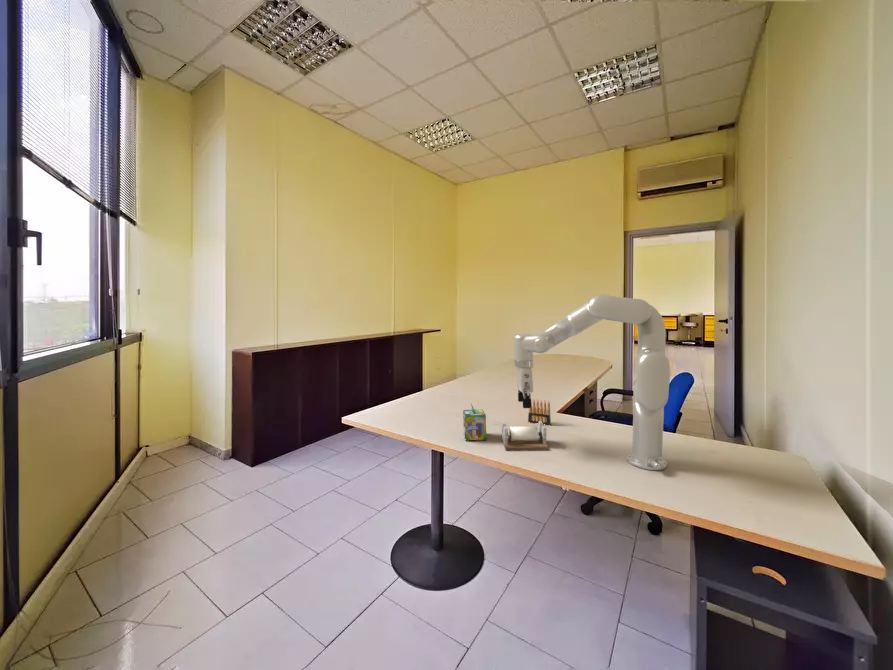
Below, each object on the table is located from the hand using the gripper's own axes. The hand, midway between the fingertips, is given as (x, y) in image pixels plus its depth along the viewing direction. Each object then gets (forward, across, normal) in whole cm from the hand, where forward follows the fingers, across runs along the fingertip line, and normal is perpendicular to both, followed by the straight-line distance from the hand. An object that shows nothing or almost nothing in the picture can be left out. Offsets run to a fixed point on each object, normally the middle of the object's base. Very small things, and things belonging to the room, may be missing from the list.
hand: (524, 404), depth 146 cm
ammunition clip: (+17, +25, -12) cm, 33 cm away
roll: (+16, 0, +1) cm, 16 cm away
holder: (+17, 0, +1) cm, 17 cm away
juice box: (+17, +8, +21) cm, 28 cm away
